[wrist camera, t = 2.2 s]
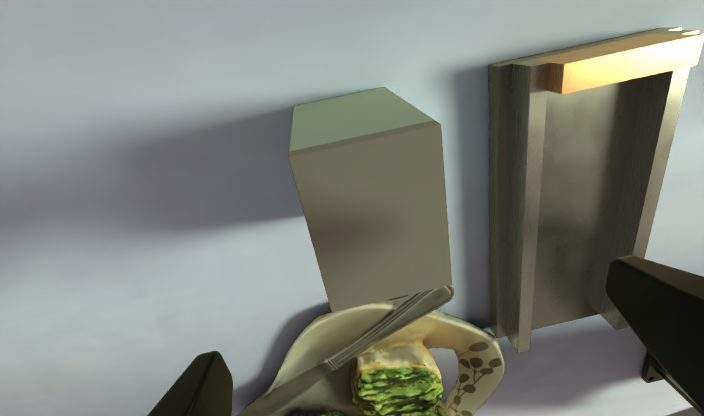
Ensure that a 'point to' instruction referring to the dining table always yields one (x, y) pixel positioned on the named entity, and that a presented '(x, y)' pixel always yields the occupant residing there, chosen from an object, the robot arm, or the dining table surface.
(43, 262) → the dining table surface
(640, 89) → the rail
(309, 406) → the salad plate
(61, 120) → the dining table surface
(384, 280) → the module
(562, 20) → the dining table surface
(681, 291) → the robot arm
